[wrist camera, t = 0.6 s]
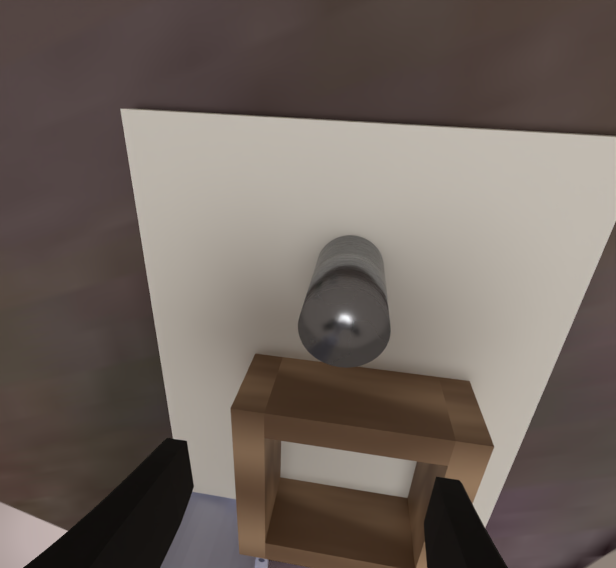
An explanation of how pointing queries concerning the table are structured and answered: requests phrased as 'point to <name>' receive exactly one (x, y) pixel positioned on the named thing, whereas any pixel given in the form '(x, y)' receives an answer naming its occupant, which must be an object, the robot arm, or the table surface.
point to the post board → (439, 248)
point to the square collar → (356, 438)
